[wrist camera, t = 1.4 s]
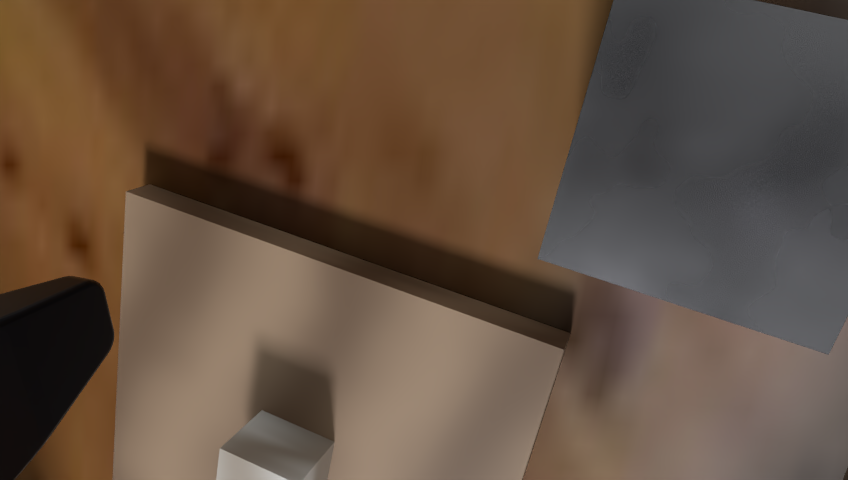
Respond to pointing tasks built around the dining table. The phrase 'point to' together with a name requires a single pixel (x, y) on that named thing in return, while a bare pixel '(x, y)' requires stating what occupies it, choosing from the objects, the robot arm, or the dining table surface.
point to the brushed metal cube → (715, 165)
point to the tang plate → (310, 361)
